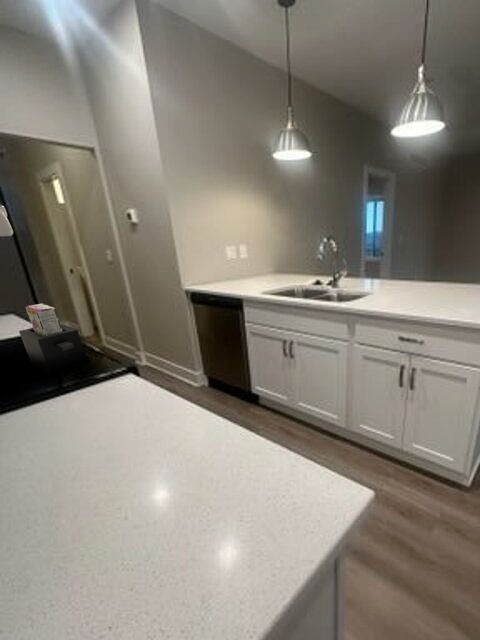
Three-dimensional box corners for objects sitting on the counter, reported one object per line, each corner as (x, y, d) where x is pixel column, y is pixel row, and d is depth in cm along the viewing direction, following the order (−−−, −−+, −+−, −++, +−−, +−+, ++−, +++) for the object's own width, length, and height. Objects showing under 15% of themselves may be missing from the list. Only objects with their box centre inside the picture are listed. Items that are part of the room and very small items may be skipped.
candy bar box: (42, 356, 111) (24, 306, 104) (59, 351, 114) (43, 303, 108) (54, 363, 104) (35, 310, 98) (72, 358, 107) (55, 307, 101)
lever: (62, 350, 98) (61, 346, 98) (57, 348, 101) (55, 344, 100) (74, 347, 101) (72, 343, 100) (68, 345, 103) (67, 341, 103)
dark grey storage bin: (50, 375, 101) (37, 339, 97) (31, 363, 111) (18, 330, 107) (88, 363, 109) (77, 329, 104) (66, 353, 119) (56, 322, 114)
